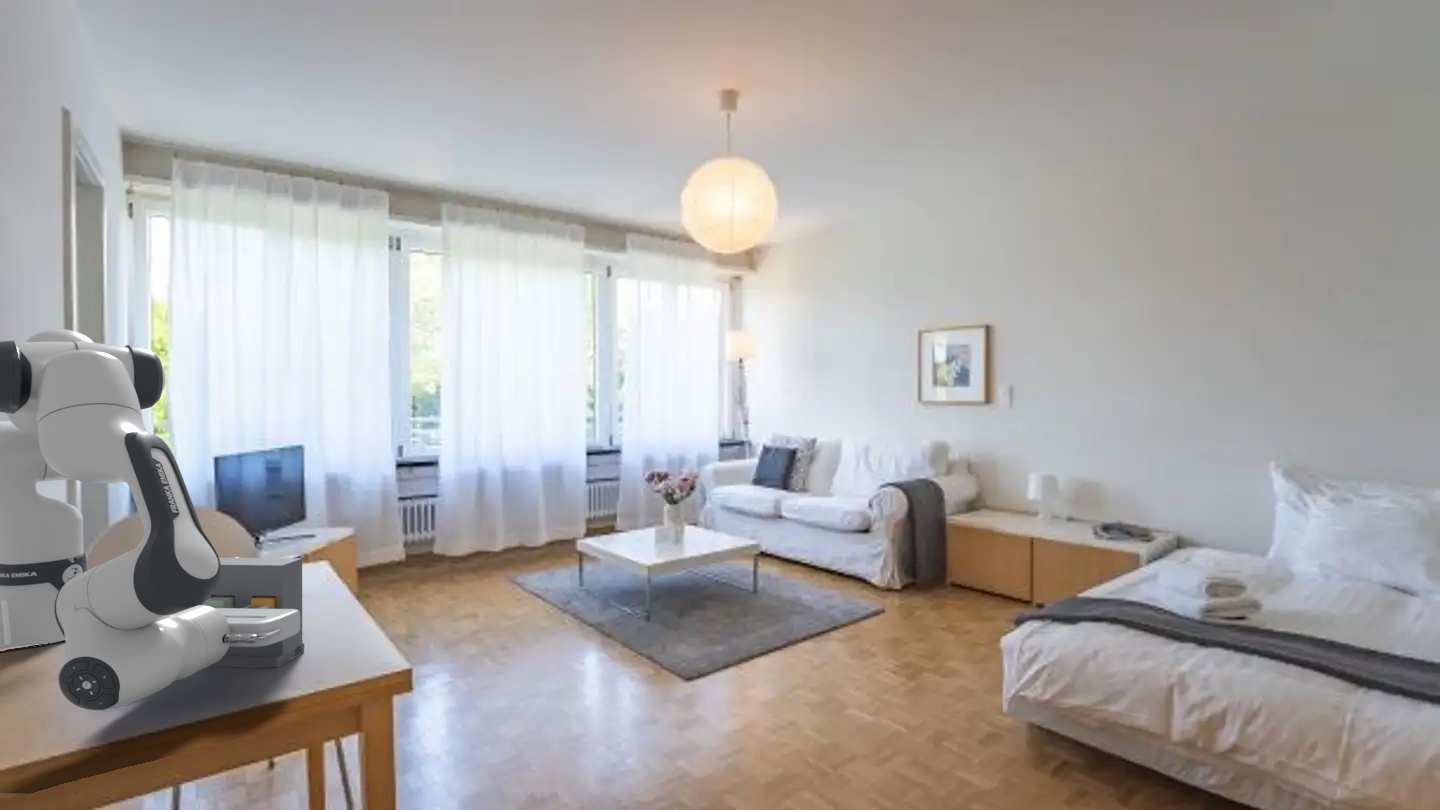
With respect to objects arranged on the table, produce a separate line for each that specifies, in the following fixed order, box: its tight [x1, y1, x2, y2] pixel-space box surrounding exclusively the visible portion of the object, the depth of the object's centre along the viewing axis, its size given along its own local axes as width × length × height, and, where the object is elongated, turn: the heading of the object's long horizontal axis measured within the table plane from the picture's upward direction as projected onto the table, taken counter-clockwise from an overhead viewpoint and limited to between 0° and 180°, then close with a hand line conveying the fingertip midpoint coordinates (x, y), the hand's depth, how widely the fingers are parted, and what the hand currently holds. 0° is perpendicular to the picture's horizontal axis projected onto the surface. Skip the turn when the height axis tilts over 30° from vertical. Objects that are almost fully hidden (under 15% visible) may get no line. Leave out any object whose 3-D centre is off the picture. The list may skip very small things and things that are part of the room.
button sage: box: [203, 596, 235, 608], centre depth 113 cm, size 3×3×3 cm
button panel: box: [200, 557, 305, 668], centre depth 115 cm, size 20×7×16 cm, turn 88°
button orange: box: [251, 596, 277, 609], centre depth 114 cm, size 3×3×3 cm
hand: (260, 609), depth 112 cm, fingers closed
